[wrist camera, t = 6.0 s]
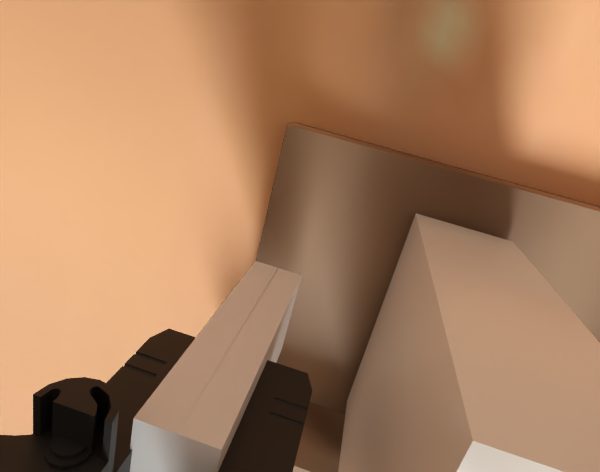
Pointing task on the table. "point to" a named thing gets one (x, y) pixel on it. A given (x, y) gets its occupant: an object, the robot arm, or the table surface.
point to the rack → (392, 253)
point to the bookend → (473, 366)
